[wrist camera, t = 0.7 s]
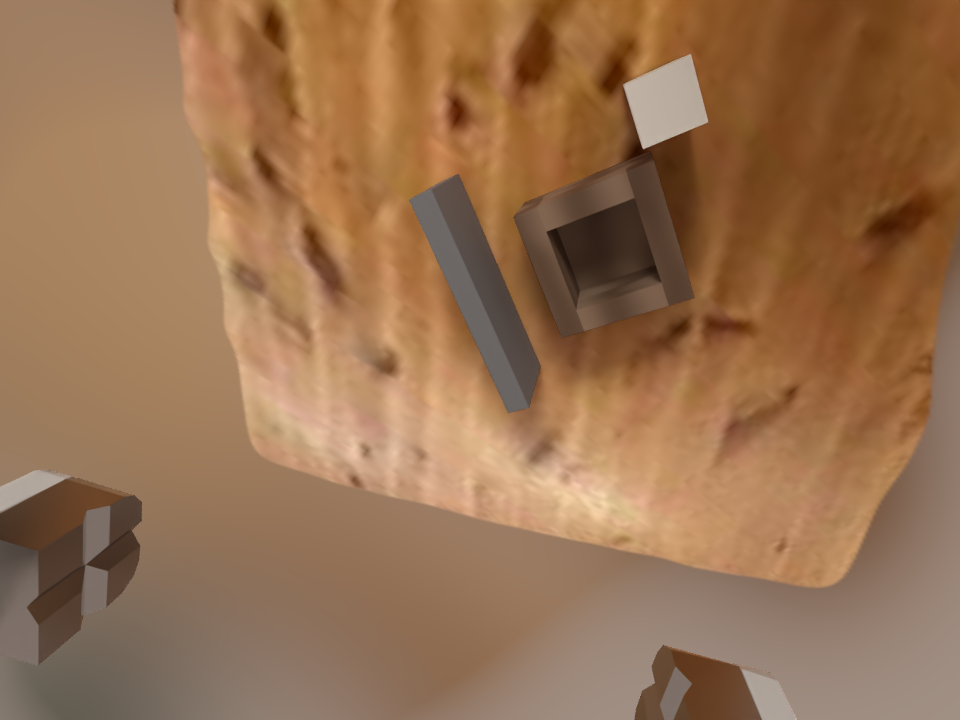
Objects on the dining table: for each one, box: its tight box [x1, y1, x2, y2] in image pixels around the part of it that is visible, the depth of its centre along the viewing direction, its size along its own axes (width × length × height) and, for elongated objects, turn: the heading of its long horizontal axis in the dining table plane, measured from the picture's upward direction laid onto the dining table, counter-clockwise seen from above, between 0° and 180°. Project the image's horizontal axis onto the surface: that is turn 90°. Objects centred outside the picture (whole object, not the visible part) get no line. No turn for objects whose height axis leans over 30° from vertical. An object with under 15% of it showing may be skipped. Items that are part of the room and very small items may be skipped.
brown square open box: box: [513, 151, 695, 338], centre depth 45 cm, size 11×11×6 cm
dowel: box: [623, 54, 708, 149], centre depth 37 cm, size 4×4×10 cm
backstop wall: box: [409, 174, 540, 413], centre depth 48 cm, size 2×20×8 cm, turn 24°
